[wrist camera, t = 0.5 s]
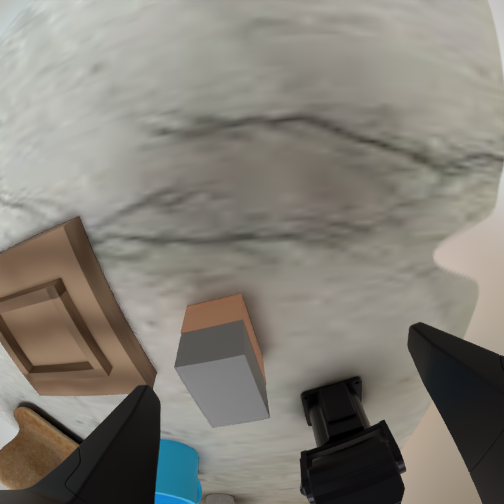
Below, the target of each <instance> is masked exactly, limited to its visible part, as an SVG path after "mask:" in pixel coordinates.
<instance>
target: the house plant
mask: <svg viewBox="0 0 504 504" xmlns="http://www.w3.org/2000/svg"><path fill="white" fill-rule="evenodd" d="M205 504H235V502H234V498H233V497H232V496H230V495H226V494H211V495H208V496H207V497H206V501H205Z"/></svg>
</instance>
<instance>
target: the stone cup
mask: <svg viewBox="0 0 504 504" xmlns="http://www.w3.org/2000/svg"><path fill="white" fill-rule="evenodd" d="M14 417H15V419H16V421H17V423H18V424H19V428H20V430H19V432H18V434H17V436H16V437H15V438H14V439H13V440H12V441H10V442H9V443H8V444H6V445H5V446H4V447H3V448H2V449H1V450H0V482H1V483H2V484H3V485H5V486H6V487H8V488H9V489H10V490H16V489H25V488H28V487H31V486H33V485H34V484H36V483H37V482H38V481H40V480H41V479H42V478H43V477H45V476H46V475H47V474H48V473H50V472H51V471H52V470H53V469H54V468H56V467H57V466H58V465H59V464H60V463H61V462H63V461H64V460H65V459H66V458H67V457H68V456H69V455H70V454H71V453H72V452H73V451H74V450H75V449H76V448H77V447H79V444H78V443H76V442H75V441H73V440H72V439H71V438H69V437H68V436H66V435H65V434H64V433H62V432H61V431H60V430H58V429H57V428H56V427H54V426H53V425H52V424H50V423H49V422H48V421H46V420H45V419H43V418H42V417H41V416H40V415H38V414H37V413H35V412H34V411H32V410H31V409H29V408H27V407H18V408H16V409H15V411H14Z"/></svg>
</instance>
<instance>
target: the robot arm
mask: <svg viewBox="0 0 504 504" xmlns="http://www.w3.org/2000/svg"><path fill="white" fill-rule="evenodd" d="M408 349H409V352H410V354H411V356H412V358H413V361H414V363H415V365H416V368H417V370H418V372H419V375H420V377H421V379H422V381H423V384H424V385H425V387H426V389H427V391H428V393H429V394H430V396H431V398H432V400H433V401H434V403H435V405H436V407H437V409H438V411H439V413H440V414H441V416H442V418H443V420H444V422H445V424H446V426H447V428H448V430H449V431H450V434H451V435H452V437H453V439H454V441H455V443H456V445H457V447H458V450H459V452H460V453H461V456H462V458H463V460H464V462H465V464H466V466H467V468H468V471H469V472H470V475H471V478H472V480H473V482H474V484H475V487H476V489H477V491H478V494H479V496H480V498H481V501H482V504H504V356H502V355H500V356H499V354H497V353H495V352H492V351H490V350H487V349H485V348H482V347H480V346H477V345H475V344H473V343H470V342H468V341H465V340H463V339H461V338H458V337H456V336H453V335H451V334H449V333H446V332H444V331H441V330H439V329H436V328H434V327H432V326H429V325H427V324H424V323H422V322H418V323H416V324H413V325H411V326H410V327H409V334H408ZM361 392H362V381H361V379H360V377H355V378H352V379H349V380H346V381H343V382H340V383H336V384H333V385H330V386H326V387H323V388H319V389H316V390H312V391H308V392H305V393H303V394H301V399H302V403H303V407H304V411H305V415H306V420H307V424H308V426H312V428H313V432H314V436H315V440H316V444H317V448H314V449H311V450H307V451H306V450H305V451H302V452H301V458H300V467H301V486H300V492H301V494H302V495H305V496H306V497H307V499H308V501H309V502H310V504H401V501H402V497H403V494H404V490H405V487H404V484H403V481H402V478H401V475H400V474H402V473H404V472H406V467H405V464H404V460H403V458H402V455H401V452H400V450H399V448H398V445H397V443H396V441H395V439H394V437H393V436H392V434H391V432H390V430H389V428H388V426H387V424H386V422H385V420H382V421H380V422H379V423H378V424H375V425H373V426H370V423H369V421H368V418H367V416H366V414H365V411H364V409H363V406H362V404H361ZM160 411H161V404H160V400H159V398H158V397H157V395H156V394H155V392H154V390H153V389H152V387H151V386H150V385H148V384H145V385H138V386H137V387H136V388H135V389H134V390H133V391H132V392H131V393H130V394H129V395H128V396H127V397H126V398H125V399H124V400H123V401H122V402H121V403H120V404H119V405H118V406H117V407H116V408H115V409H114V410H113V411H112V412H111V413H110V414H109V416H108V417H107V418H106V419H105V420H104V421H103V422H102V423H101V424H100V425H99V426H98V427H97V428H96V429H95V430H94V431H93V432H92V433H91V434H90V435H89V436H88V437H87V438H86V439H85V440H84V441H83V442H82V443H81V444H80V445H79V447H77V448H76V449H75V450H74V451H73V452H72V453H71V454H70V455H69V456H68V457H67V458H66V459H65V460H64V461H63V462H61V463H60V464H59V465H58V466H57V467H56V468H54V469H53V470H52V471H51V472H50V473H48V474H47V475H46V476H45V477H43V478H42V479H41V480H40V481H38V482H37V483H36V484H34V485H33V486H31V487H28V488H25V489H16V490H0V504H155V491H156V479H157V468H158V458H159V449H160Z"/></svg>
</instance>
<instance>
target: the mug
mask: <svg viewBox="0 0 504 504" xmlns="http://www.w3.org/2000/svg"><path fill="white" fill-rule="evenodd" d="M198 464H199V456H198V453H197V452H196V451H195V450H194V449H193V448H191V447H189V446H187V445H185V444H182V443H179V442H175V441H171V440H164V439H160V449H159V458H158V468H157V479H156V491H155V504H199V502H200V500H201V498H202V487H201V484H200V481H199V479H198Z"/></svg>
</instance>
